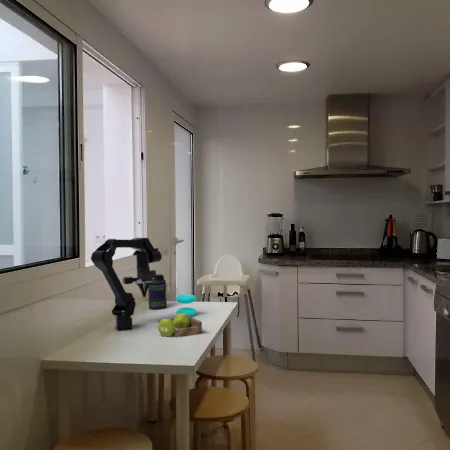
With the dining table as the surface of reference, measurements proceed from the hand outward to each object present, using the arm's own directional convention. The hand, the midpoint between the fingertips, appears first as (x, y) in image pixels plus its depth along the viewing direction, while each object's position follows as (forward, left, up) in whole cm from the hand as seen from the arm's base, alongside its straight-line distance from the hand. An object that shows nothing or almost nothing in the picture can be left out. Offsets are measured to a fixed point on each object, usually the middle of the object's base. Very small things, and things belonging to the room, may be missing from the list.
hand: (144, 297), depth 235 cm
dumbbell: (+5, -26, -13) cm, 29 cm away
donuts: (+23, +5, -13) cm, 27 cm away
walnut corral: (+9, -23, -12) cm, 27 cm away
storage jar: (+17, +32, -12) cm, 39 cm away
